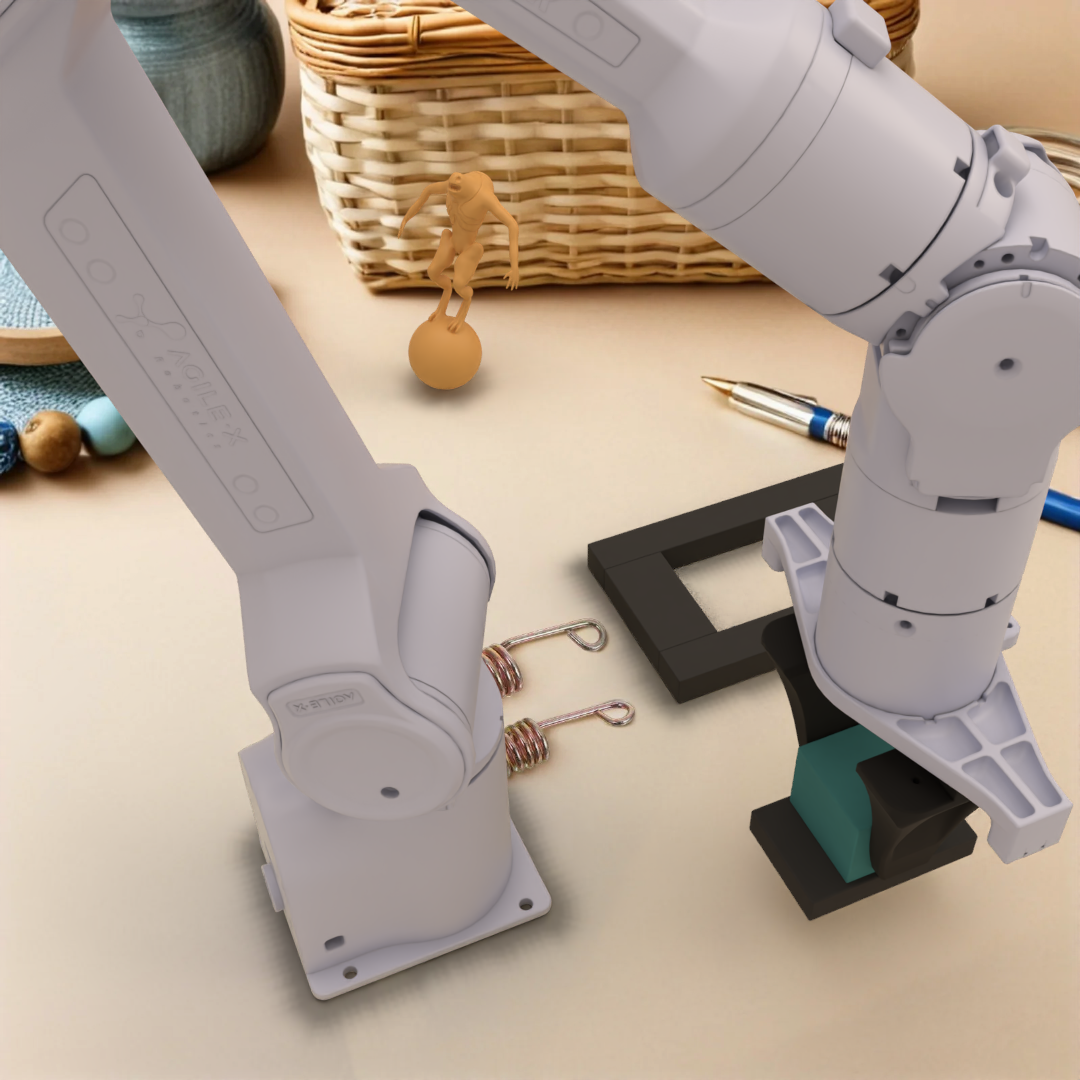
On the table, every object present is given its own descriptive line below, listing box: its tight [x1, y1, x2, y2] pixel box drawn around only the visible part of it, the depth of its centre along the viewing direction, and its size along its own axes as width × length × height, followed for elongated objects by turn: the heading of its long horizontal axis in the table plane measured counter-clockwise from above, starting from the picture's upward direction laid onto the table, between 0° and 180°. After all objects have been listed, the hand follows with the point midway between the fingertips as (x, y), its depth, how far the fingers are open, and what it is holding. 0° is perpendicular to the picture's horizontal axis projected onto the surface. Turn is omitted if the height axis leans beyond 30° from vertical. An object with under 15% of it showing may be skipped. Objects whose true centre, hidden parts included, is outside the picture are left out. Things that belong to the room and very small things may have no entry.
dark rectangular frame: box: [587, 462, 844, 704], centre depth 67 cm, size 14×9×2 cm
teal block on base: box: [748, 724, 978, 922], centre depth 53 cm, size 7×4×4 cm, turn 113°
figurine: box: [397, 170, 520, 391], centre depth 76 cm, size 8×6×12 cm
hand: (865, 816), depth 53 cm, fingers closed on teal block on base, 4 cm apart
